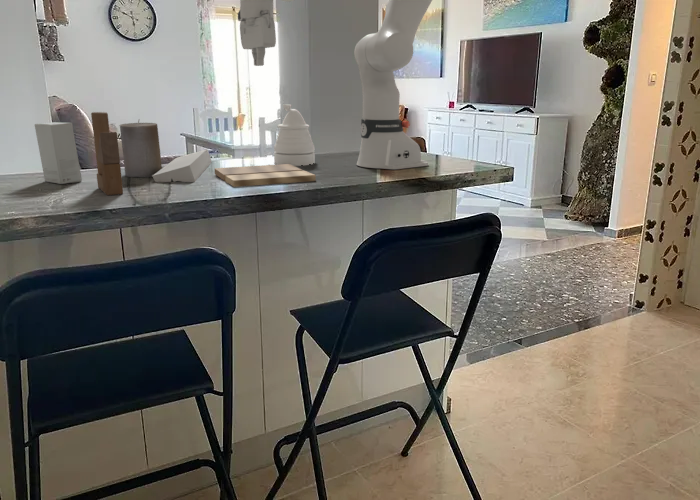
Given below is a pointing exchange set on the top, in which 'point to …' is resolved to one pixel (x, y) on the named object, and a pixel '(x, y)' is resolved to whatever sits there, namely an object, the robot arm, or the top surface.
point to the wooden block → (106, 155)
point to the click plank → (254, 170)
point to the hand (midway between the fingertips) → (258, 65)
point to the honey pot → (294, 140)
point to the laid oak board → (269, 178)
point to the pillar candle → (140, 149)
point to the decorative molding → (184, 168)
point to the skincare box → (58, 152)
